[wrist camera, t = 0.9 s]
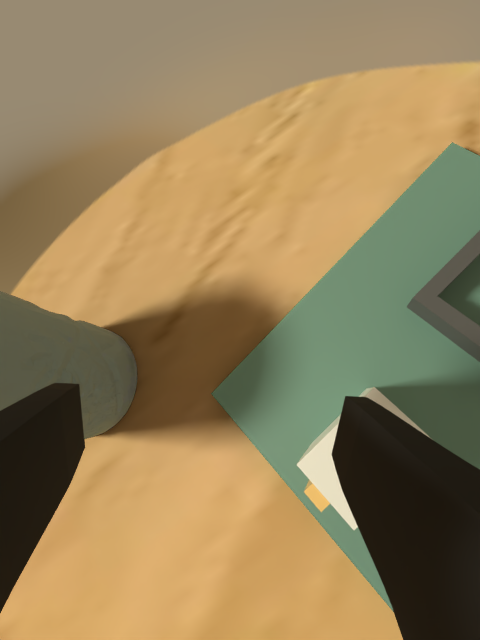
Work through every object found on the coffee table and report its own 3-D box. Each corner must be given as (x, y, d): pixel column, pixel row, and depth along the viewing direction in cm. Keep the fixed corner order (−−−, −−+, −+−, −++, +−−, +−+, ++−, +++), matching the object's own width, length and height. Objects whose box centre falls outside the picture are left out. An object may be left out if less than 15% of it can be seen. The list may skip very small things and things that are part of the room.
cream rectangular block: (411, 429, 17) (441, 447, 12) (341, 496, 18) (338, 545, 12) (366, 388, 18) (374, 387, 13) (302, 452, 19) (282, 478, 13)
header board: (759, 313, 15) (855, 295, 12) (413, 626, 16) (427, 675, 13) (447, 153, 21) (463, 116, 18) (216, 393, 22) (197, 393, 19)
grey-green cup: (52, 327, 28) (-138, 286, 17) (150, 312, 25) (-4, 251, 14) (42, 448, 26) (-187, 491, 15) (148, 447, 23) (-38, 500, 12)
